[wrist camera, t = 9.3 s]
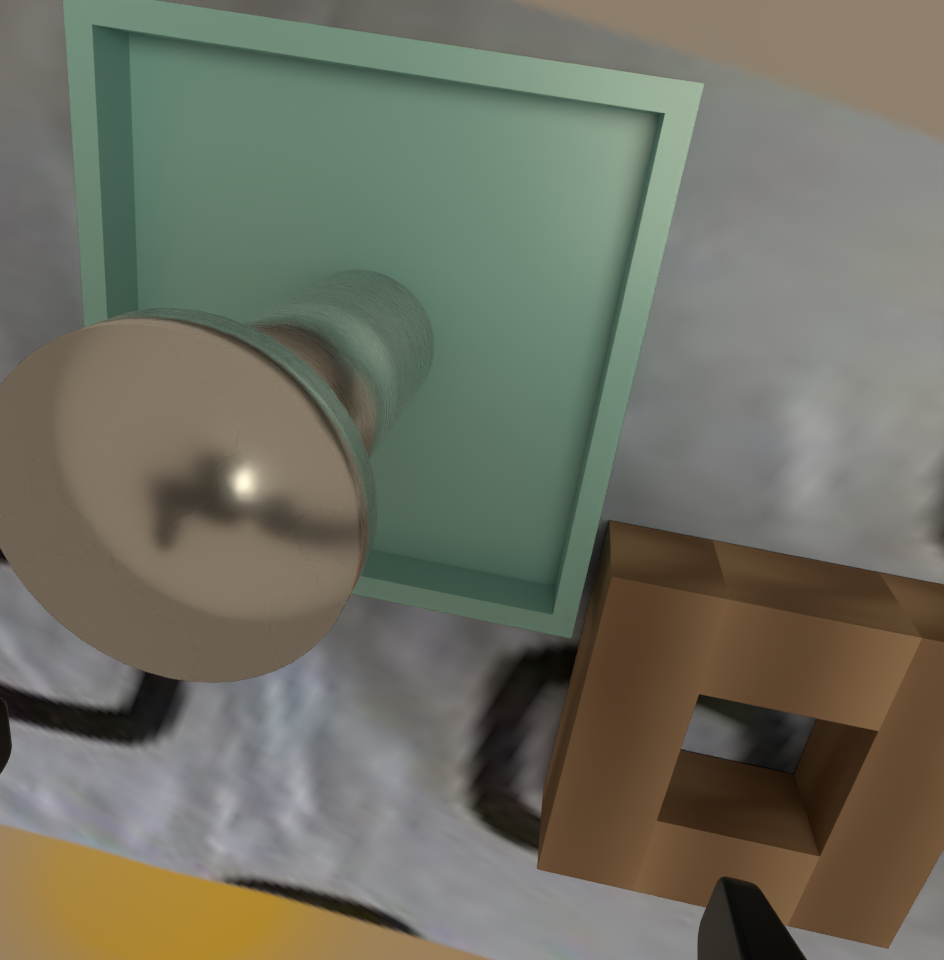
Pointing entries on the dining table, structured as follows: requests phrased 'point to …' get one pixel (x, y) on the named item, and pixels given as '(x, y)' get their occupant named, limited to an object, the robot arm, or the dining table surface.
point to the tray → (401, 254)
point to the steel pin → (207, 473)
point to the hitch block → (766, 683)
